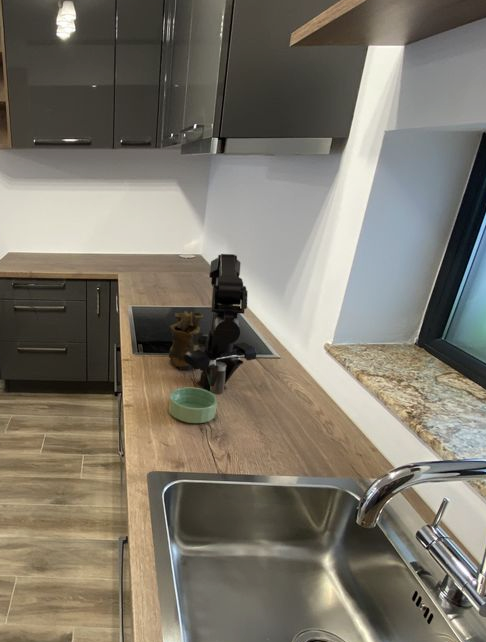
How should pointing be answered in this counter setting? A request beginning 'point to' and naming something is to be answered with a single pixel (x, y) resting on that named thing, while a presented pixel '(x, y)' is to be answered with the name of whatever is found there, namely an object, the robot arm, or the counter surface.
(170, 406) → the bowl
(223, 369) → the shaker
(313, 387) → the counter surface
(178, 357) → the pottery vessel
